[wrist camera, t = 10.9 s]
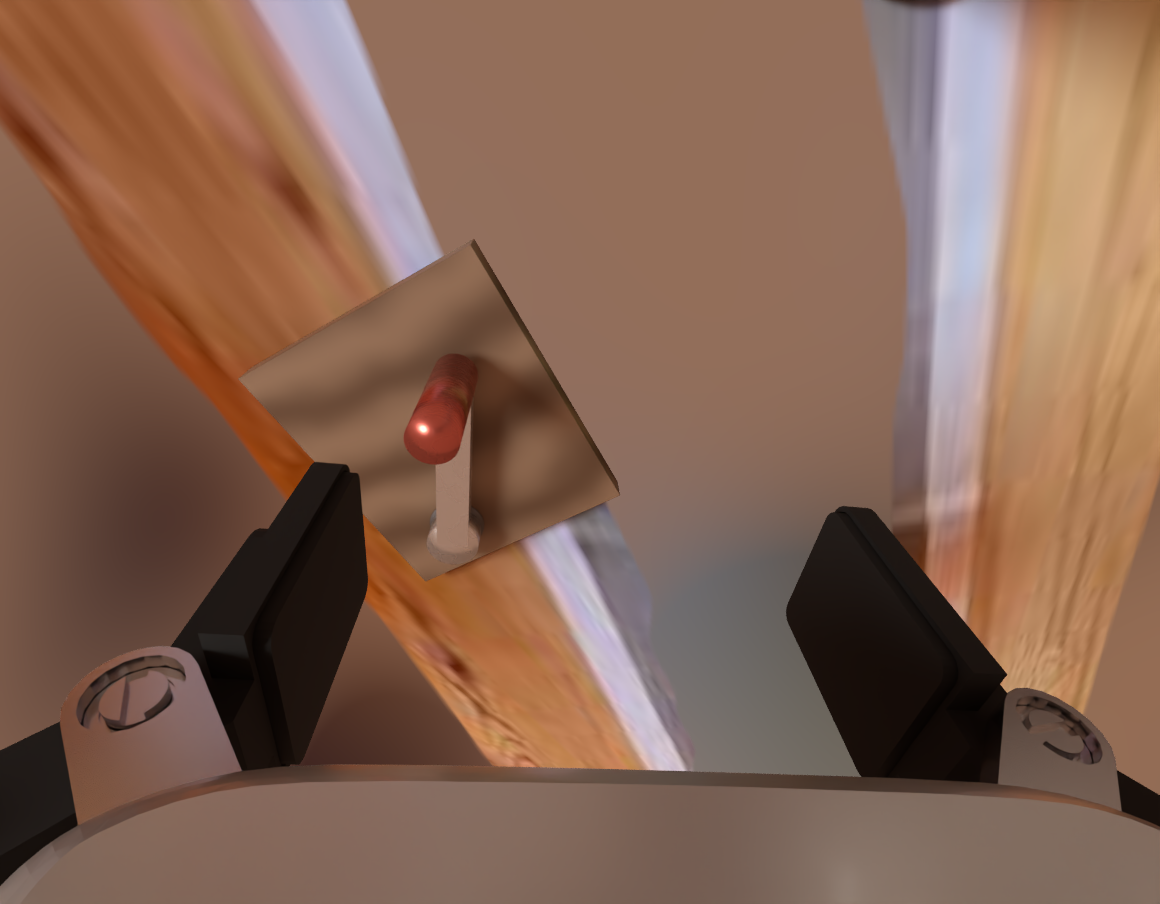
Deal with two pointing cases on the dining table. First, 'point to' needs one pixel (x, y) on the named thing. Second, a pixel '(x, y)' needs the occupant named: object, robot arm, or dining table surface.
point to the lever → (448, 455)
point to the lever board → (392, 390)
